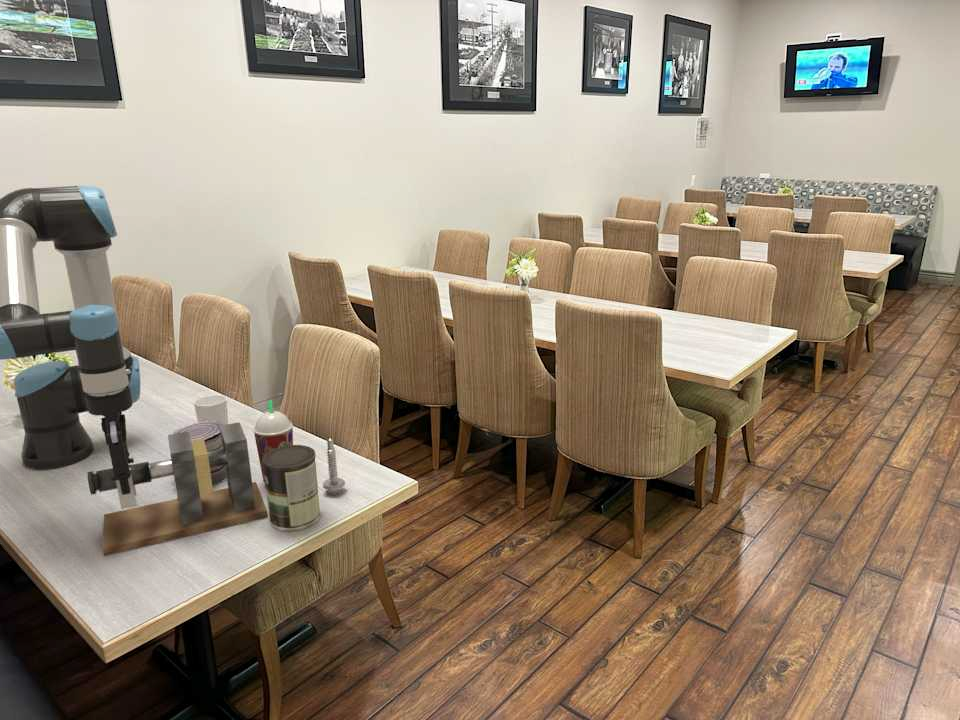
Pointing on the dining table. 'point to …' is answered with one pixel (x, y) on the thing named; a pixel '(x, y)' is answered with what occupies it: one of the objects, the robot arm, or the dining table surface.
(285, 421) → the smoothie
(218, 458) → the shaft
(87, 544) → the dining table surface
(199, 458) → the collar
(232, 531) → the dining table surface
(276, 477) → the coffee can
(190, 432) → the can
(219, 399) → the white cup
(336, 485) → the screw
